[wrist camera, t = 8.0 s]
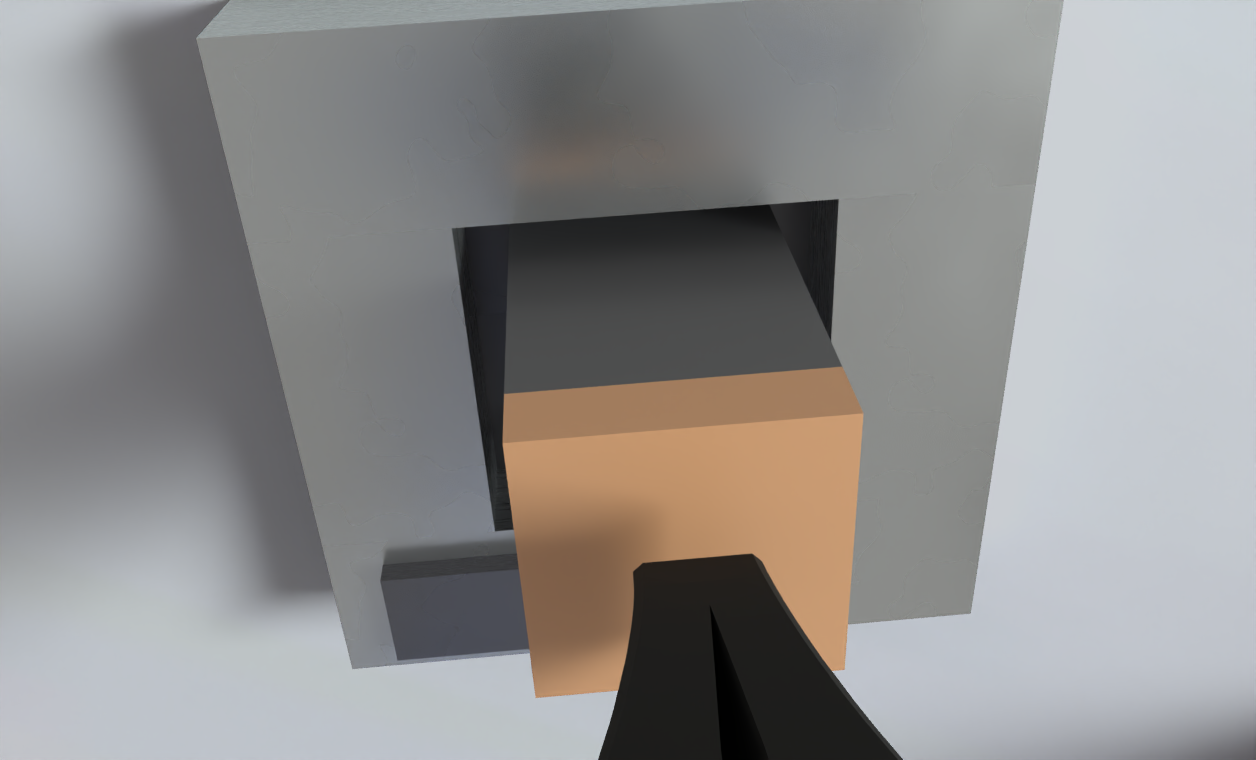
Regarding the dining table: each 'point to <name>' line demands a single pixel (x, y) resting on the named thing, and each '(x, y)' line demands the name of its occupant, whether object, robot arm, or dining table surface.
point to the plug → (669, 427)
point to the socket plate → (613, 186)
